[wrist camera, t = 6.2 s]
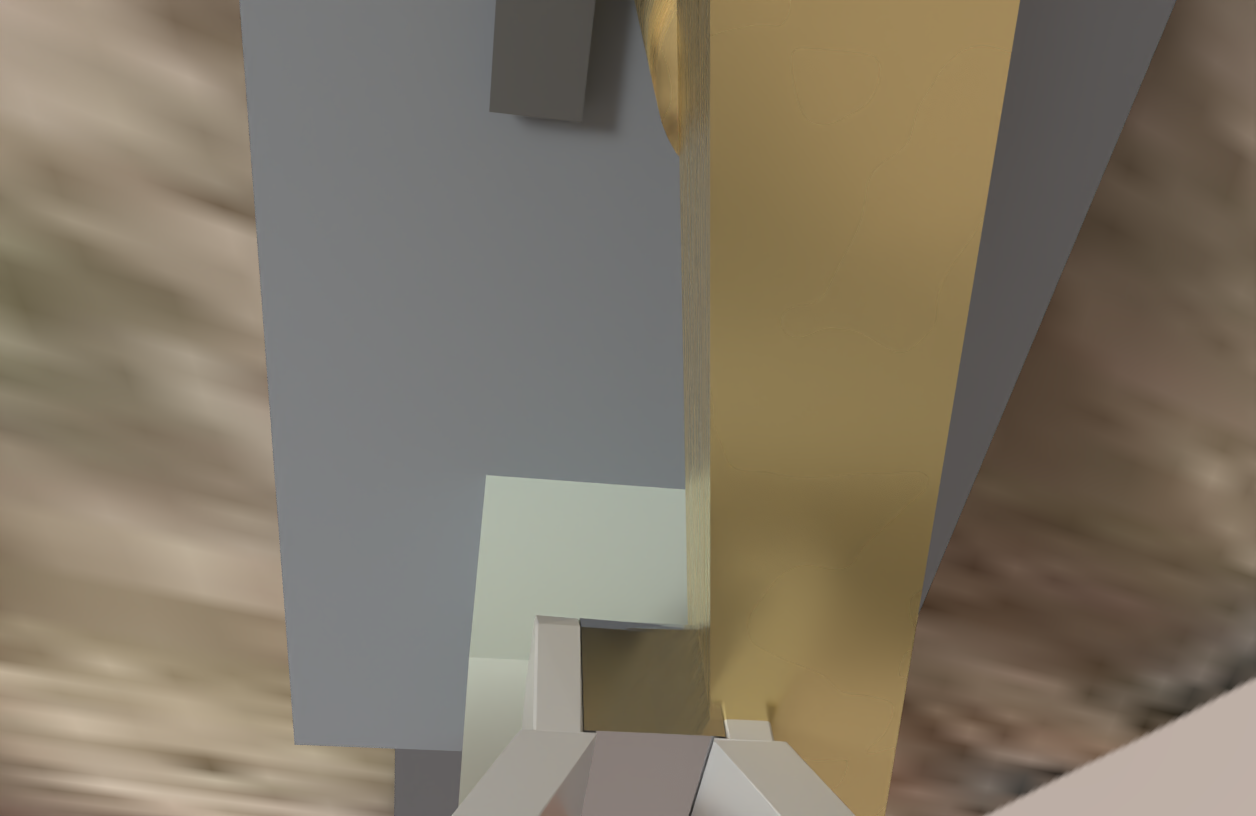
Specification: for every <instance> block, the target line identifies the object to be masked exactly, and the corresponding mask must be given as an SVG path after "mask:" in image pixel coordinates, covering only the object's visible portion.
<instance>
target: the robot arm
mask: <svg viewBox="0 0 1256 816" xmlns="http://www.w3.org/2000/svg"><path fill="white" fill-rule="evenodd" d="M452 816H855V815H854V814H853V812H852V811H851V810H850V809H849V808H848V807H847V806H846V805H845V804H844V803H843V802H842V801H841V800H840V799H839V797H838V796H837V795H836V794H835V793H834V792H833V791H832V790H831V789H830V788H829V787H828V786H827V785H826V784H825V783H824V781H823V780H822V779H821V778H820V777H819V776H818V775H817V774H816V773H815V772H814V771H813V770H812V769H811V768H810V766H809V765H808V764H807V763H806V762H805V761H804V760H803V759H802V758H801V757H800V756H799V755H798V754H797V753H796V751H795V750H794V749H793V748H792V747H791V746H790V745H789V744H788V743H787V742H783V741H774V737H773V733H772V728H771V723H770V722H769V721H756V720H735V719H726V720H724V722H723V720H719V719H710V714H709V707H708V700H707V693H706V686H705V679H704V672H703V665H702V658H701V651H700V644H699V637H698V630H697V628H696V626H695V625H682V624H661V623H640V622H621V621H610V620H598V619H586V618H579V620H578V619H577V618H565V617H553V616H541V615H536V617H535V620H534V626H533V633H532V641H531V648H530V655H529V663H528V670H527V678H526V687H525V698H524V708H523V719H522V730H520V731H519V732H518V733H517V734H516V736H515V737H514V738H513V739H512V741H511V742H510V743H509V744H508V746H507V747H506V748H505V749H504V751H503V752H502V753H501V754H500V756H499V757H498V758H497V759H496V761H495V762H494V763H493V764H492V766H491V767H490V768H489V769H488V771H487V772H486V773H485V774H484V776H483V777H482V778H481V779H480V781H479V782H478V783H477V784H476V786H475V787H474V788H473V789H472V791H471V792H470V793H469V794H468V796H467V797H466V798H465V799H464V801H463V802H462V803H461V804H460V806H459V807H458V808H457V809H456V811H455V812H454V813H453V814H452Z"/></svg>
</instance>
